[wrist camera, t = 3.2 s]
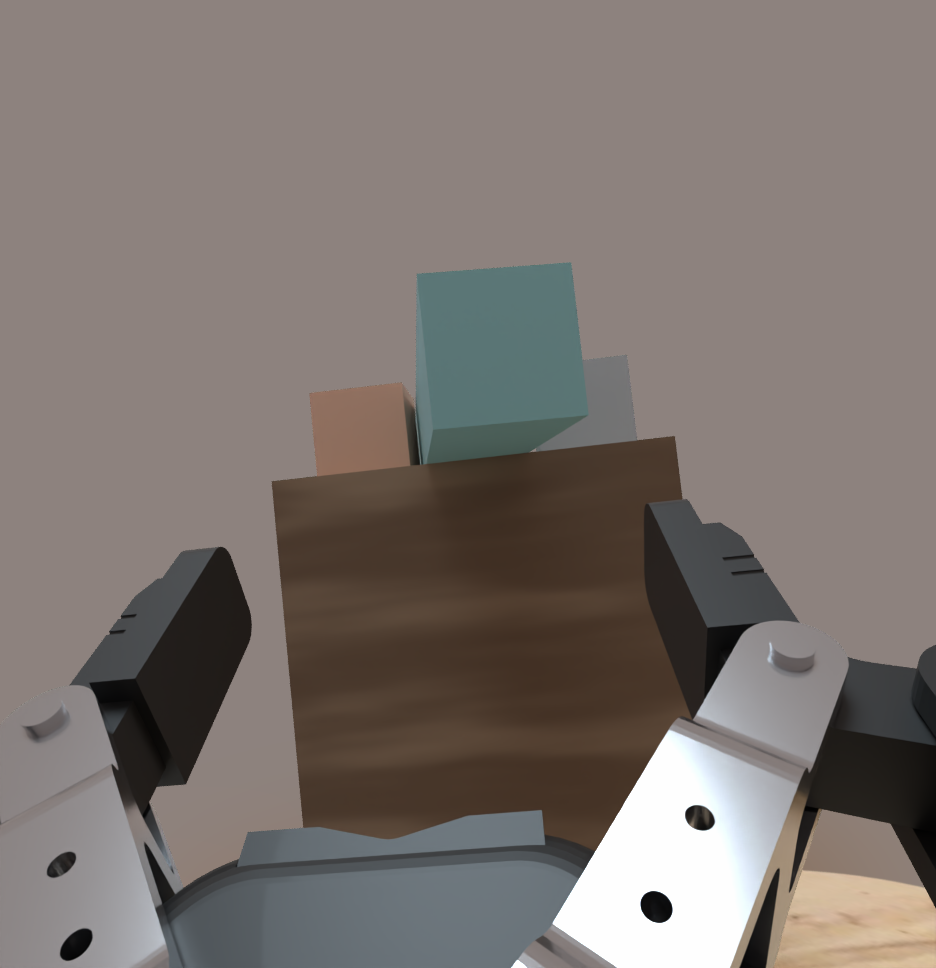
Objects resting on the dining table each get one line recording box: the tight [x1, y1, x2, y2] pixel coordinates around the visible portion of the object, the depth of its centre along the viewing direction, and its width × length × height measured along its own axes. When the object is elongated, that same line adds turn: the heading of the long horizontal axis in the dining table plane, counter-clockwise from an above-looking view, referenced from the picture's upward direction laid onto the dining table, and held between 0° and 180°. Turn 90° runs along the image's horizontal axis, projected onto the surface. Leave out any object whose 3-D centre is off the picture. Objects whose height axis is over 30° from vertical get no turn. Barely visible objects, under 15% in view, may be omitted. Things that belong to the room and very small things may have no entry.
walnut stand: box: [272, 436, 692, 851], centre depth 33 cm, size 15×16×32 cm
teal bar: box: [416, 263, 589, 465], centre depth 29 cm, size 24×4×4 cm, turn 5°
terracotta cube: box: [310, 383, 420, 476], centre depth 34 cm, size 4×4×4 cm
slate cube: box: [536, 355, 637, 452], centre depth 33 cm, size 4×4×4 cm
